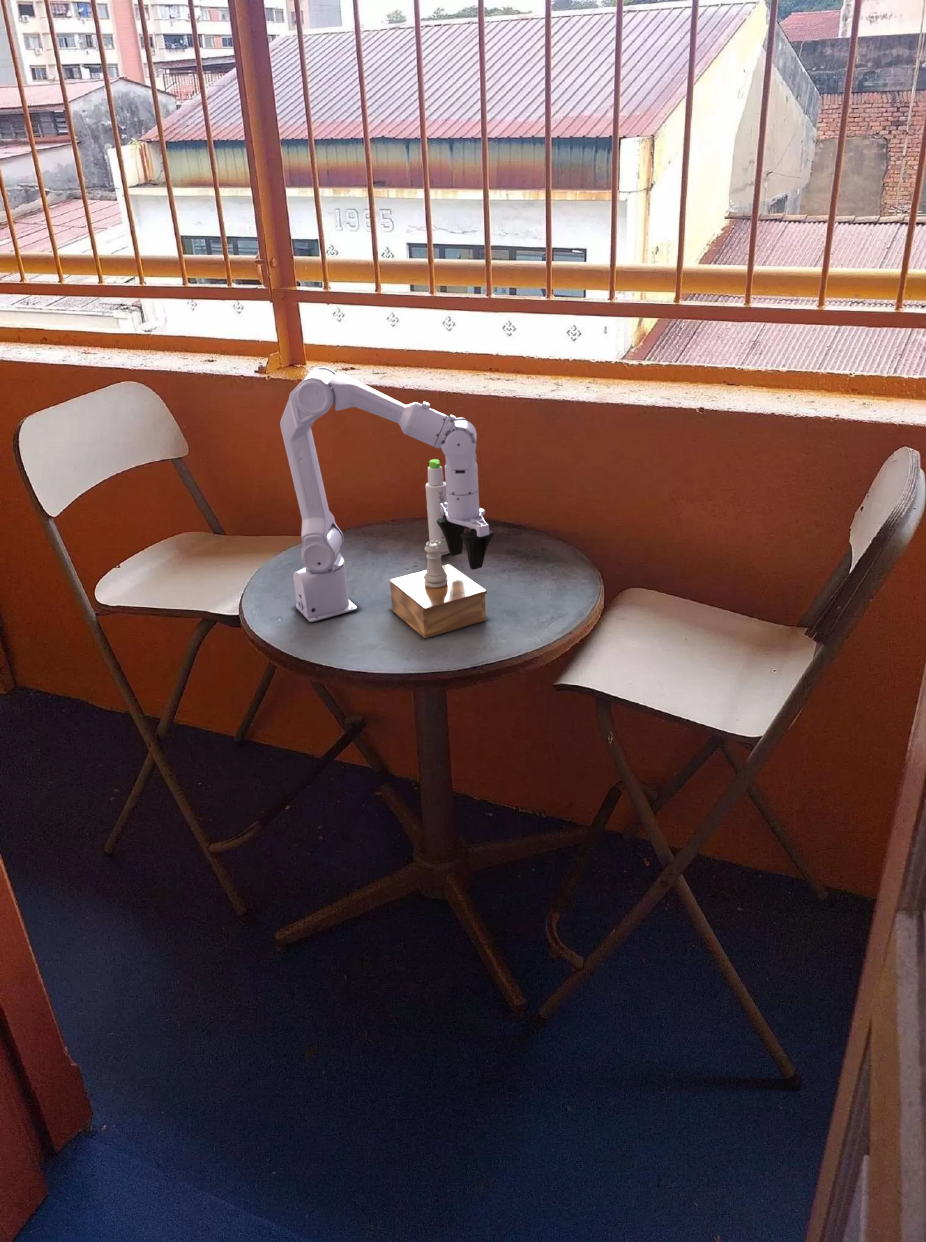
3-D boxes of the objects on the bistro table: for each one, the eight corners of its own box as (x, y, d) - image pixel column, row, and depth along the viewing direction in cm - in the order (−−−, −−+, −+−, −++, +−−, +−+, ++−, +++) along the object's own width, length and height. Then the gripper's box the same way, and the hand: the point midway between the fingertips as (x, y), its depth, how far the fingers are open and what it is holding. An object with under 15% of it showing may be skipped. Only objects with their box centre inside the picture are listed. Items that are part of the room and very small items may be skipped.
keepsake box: (485, 620, 167) (484, 591, 164) (424, 638, 162) (422, 609, 159) (450, 594, 177) (448, 567, 175) (392, 610, 172) (389, 582, 169)
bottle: (431, 556, 194) (425, 464, 185) (429, 548, 198) (422, 458, 189) (452, 554, 195) (446, 462, 185) (449, 546, 198) (443, 456, 189)
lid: (487, 593, 163) (486, 590, 163) (424, 611, 158) (424, 608, 158) (448, 566, 175) (448, 563, 174) (389, 582, 169) (389, 579, 169)
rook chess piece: (453, 583, 166) (451, 542, 163) (435, 591, 164) (432, 550, 160) (436, 576, 169) (434, 536, 166) (418, 584, 167) (415, 543, 163)
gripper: (503, 496, 158) (505, 569, 164) (462, 475, 170) (465, 543, 176) (467, 505, 155) (471, 578, 161) (428, 483, 167) (433, 552, 173)
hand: (466, 561), depth 168 cm, fingers open, 7 cm apart
